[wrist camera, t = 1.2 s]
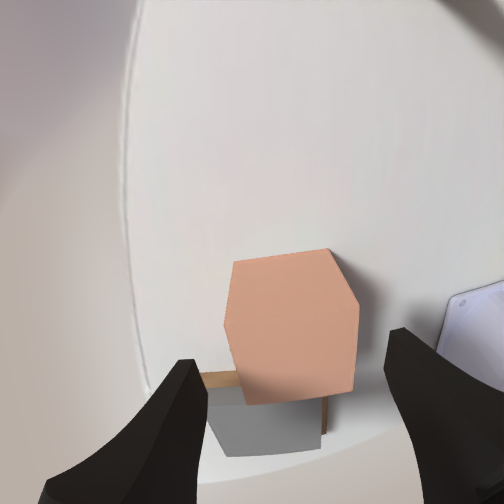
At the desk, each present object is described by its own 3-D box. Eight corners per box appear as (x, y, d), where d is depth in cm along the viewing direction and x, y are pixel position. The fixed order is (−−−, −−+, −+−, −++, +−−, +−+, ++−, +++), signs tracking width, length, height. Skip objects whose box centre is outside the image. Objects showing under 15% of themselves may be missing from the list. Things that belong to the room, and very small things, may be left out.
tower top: (318, 376, 16) (322, 395, 14) (318, 433, 19) (320, 448, 17) (203, 388, 16) (200, 406, 15) (227, 441, 19) (226, 456, 18)
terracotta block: (327, 247, 14) (359, 305, 9) (330, 322, 15) (352, 390, 11) (233, 261, 14) (223, 324, 9) (249, 334, 16) (246, 406, 11)
